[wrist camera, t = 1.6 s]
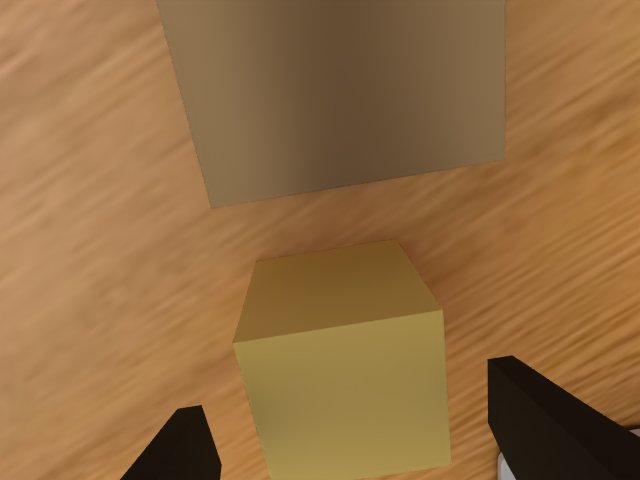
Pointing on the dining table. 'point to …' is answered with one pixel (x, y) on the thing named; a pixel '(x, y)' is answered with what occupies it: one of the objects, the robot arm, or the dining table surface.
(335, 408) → the mustard brick
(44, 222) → the dining table surface
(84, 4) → the dining table surface
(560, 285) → the dining table surface
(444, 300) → the dining table surface
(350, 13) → the walnut base
